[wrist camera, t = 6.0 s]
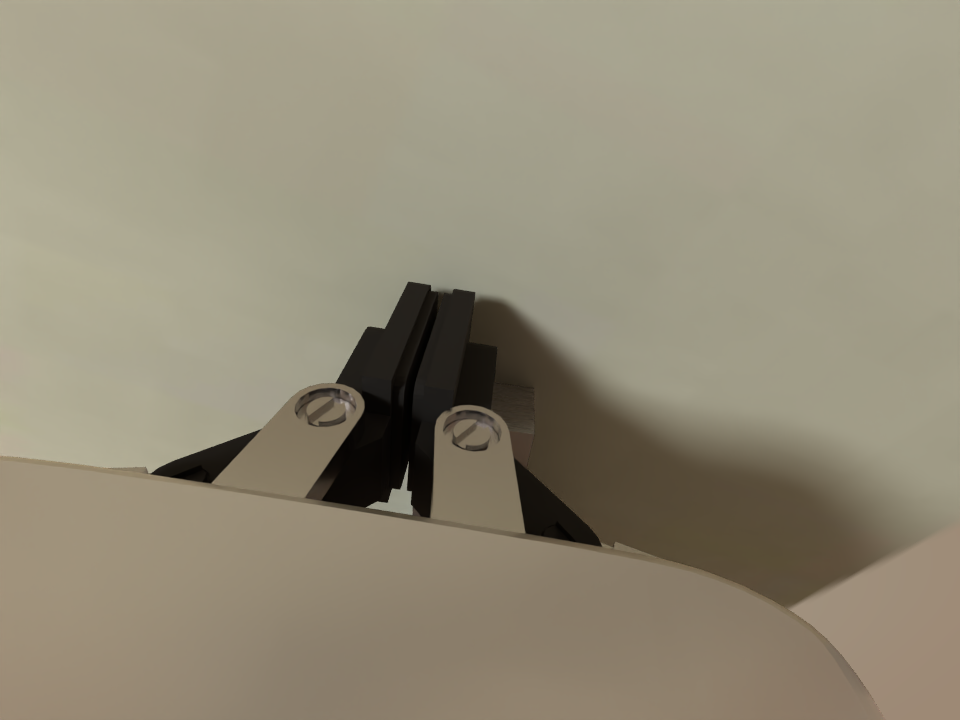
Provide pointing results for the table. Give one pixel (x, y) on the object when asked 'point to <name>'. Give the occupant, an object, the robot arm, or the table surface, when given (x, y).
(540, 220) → the table surface
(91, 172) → the table surface
